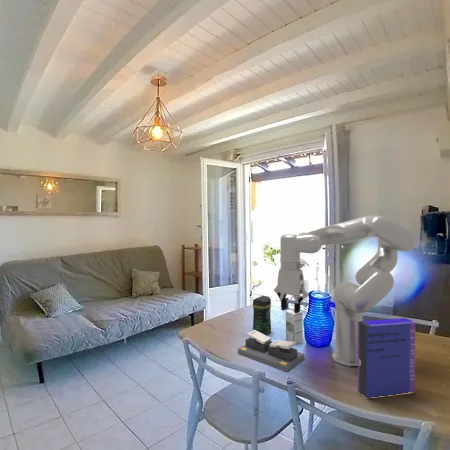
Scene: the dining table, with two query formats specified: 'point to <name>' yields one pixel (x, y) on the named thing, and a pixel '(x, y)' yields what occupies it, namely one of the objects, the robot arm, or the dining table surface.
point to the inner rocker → (283, 344)
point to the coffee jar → (262, 315)
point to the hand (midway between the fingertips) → (290, 310)
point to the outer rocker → (259, 336)
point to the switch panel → (270, 358)
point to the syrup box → (294, 326)
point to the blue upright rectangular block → (386, 357)
